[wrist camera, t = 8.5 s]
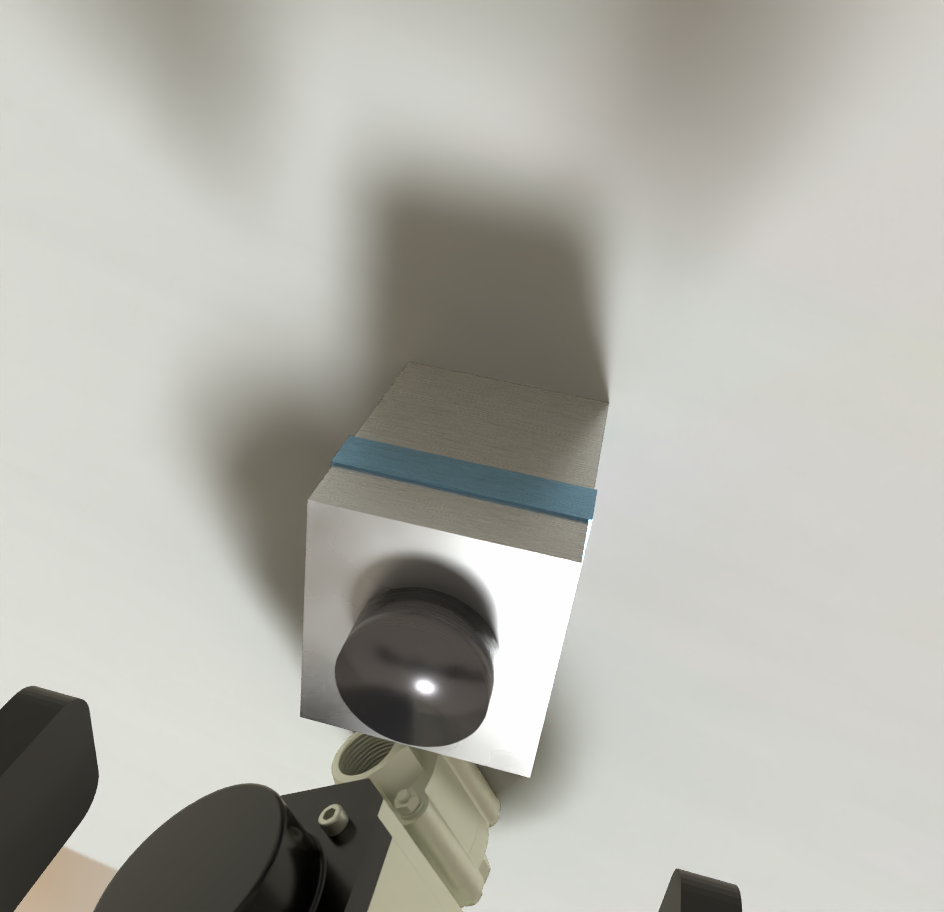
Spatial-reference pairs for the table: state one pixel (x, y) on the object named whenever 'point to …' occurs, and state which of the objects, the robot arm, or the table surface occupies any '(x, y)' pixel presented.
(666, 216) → the table surface
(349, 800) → the pneumatic valve
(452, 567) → the grey box with knob
